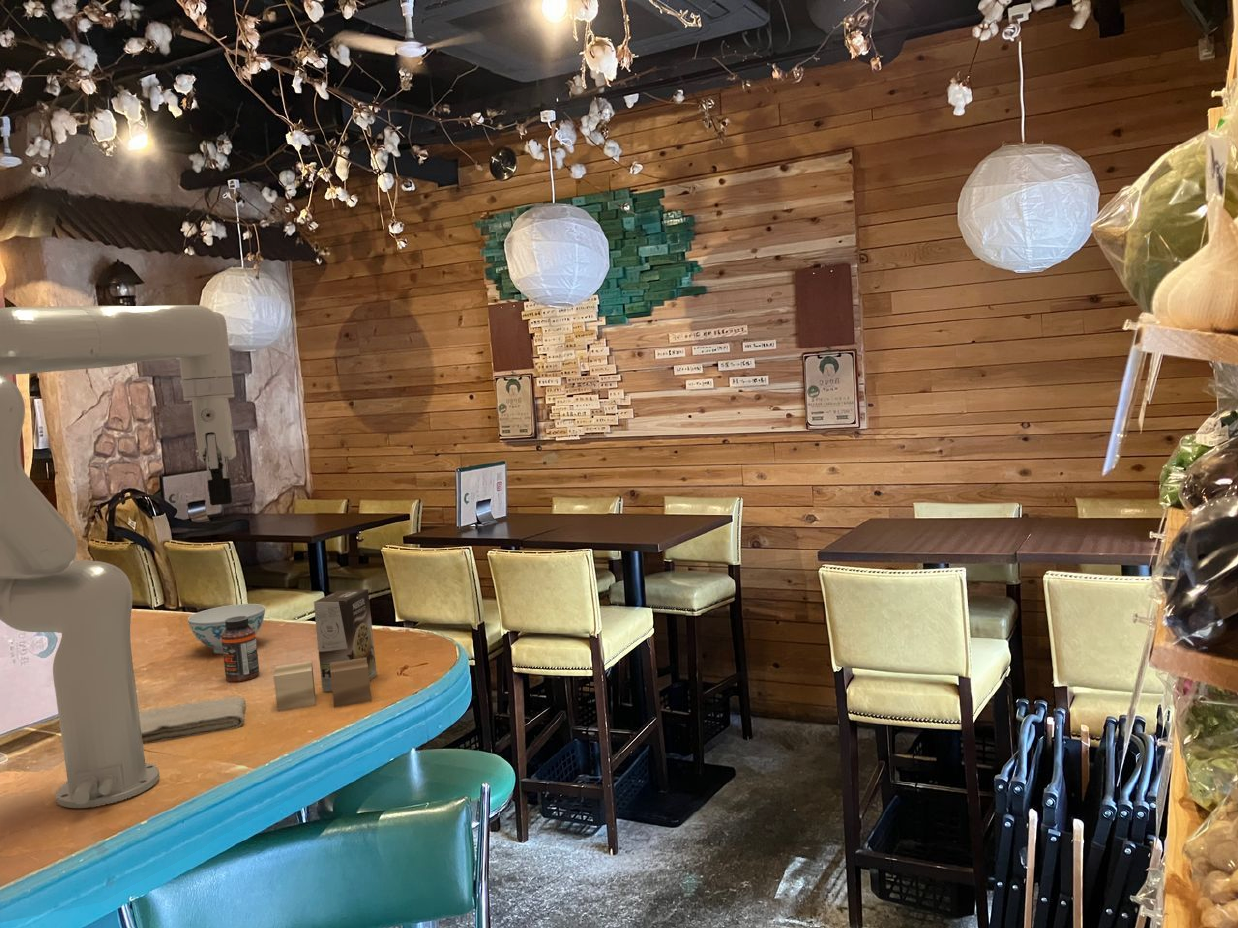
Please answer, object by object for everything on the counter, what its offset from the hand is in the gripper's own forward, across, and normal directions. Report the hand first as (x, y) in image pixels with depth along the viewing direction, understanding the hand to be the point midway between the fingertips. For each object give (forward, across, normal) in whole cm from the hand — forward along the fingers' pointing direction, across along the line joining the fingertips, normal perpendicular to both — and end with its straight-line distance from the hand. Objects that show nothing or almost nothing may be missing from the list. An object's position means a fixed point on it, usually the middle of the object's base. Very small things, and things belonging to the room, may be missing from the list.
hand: (221, 503), depth 158 cm
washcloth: (+36, -1, +9) cm, 37 cm away
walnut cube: (+35, -1, -17) cm, 39 cm away
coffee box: (+35, +8, -17) cm, 40 cm away
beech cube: (+35, +2, -8) cm, 36 cm away
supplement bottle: (+35, +23, +2) cm, 42 cm away
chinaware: (+35, +47, +6) cm, 59 cm away
